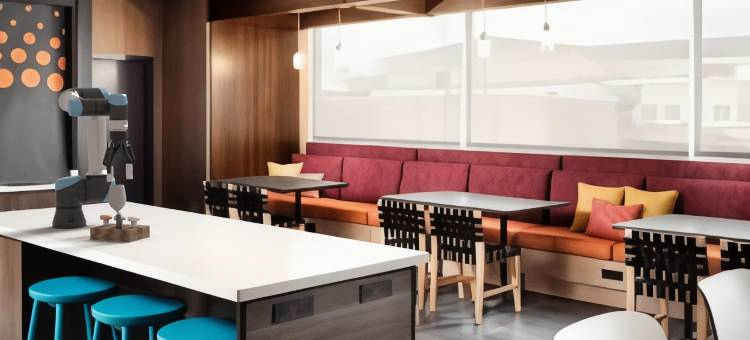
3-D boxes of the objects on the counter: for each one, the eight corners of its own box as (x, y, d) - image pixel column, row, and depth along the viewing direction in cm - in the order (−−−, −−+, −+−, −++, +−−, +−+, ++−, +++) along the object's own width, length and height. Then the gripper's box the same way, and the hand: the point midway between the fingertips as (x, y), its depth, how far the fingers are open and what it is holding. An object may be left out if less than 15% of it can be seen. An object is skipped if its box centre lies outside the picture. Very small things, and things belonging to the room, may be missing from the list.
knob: (125, 231, 362) (125, 217, 362) (132, 230, 367) (132, 215, 367) (135, 232, 361) (135, 217, 360) (142, 230, 365) (142, 216, 365)
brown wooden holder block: (90, 239, 363) (89, 227, 363) (110, 234, 376) (110, 223, 376) (130, 242, 357) (130, 230, 356) (149, 237, 370) (149, 225, 369)
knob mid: (111, 231, 365) (111, 216, 364) (118, 229, 369) (118, 215, 369) (121, 231, 363) (121, 217, 363) (128, 230, 368) (128, 215, 367)
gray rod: (114, 229, 359) (114, 212, 358) (118, 228, 361) (118, 211, 361) (119, 229, 358) (119, 212, 358) (123, 228, 360) (122, 212, 360)
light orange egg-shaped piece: (97, 230, 367) (97, 216, 366) (105, 228, 372) (104, 214, 371) (107, 230, 365) (107, 216, 365) (114, 229, 370) (114, 215, 370)
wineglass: (105, 232, 383) (104, 185, 381) (118, 230, 390) (116, 184, 388) (118, 233, 379) (116, 186, 378) (130, 231, 386) (129, 184, 384)
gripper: (108, 131, 350) (109, 183, 352) (143, 129, 374) (144, 178, 375) (92, 131, 353) (94, 182, 354) (128, 129, 376) (129, 177, 378)
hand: (120, 180), depth 365 cm, fingers open, 13 cm apart
